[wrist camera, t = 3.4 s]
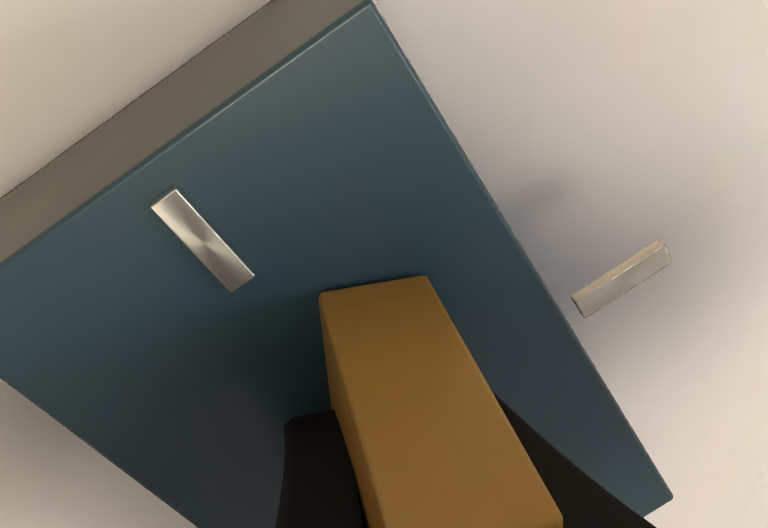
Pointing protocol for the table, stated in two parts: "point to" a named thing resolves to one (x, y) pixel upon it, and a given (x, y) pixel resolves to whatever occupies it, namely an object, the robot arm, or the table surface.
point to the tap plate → (278, 266)
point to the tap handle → (423, 416)
